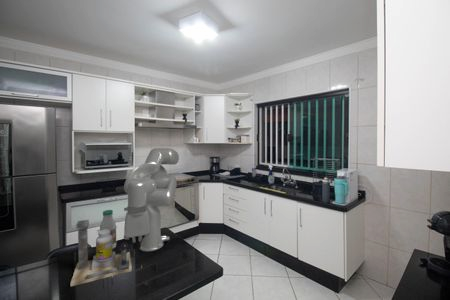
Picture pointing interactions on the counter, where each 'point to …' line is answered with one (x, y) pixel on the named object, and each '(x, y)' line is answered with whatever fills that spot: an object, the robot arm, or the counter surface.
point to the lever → (123, 256)
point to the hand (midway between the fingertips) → (136, 249)
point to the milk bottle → (109, 224)
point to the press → (94, 261)
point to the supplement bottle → (104, 246)
